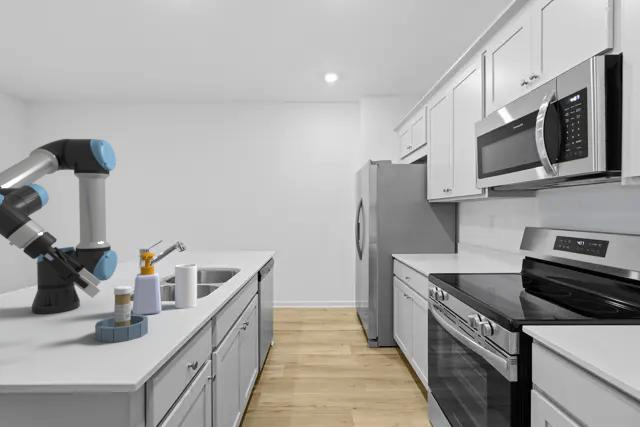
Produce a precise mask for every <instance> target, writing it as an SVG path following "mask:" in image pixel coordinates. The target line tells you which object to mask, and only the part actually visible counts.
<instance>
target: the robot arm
mask: <svg viewBox="0 0 640 427" xmlns="http://www.w3.org/2000/svg"><path fill="white" fill-rule="evenodd" d="M116 157H117V156H116V153H115V151H114V149H113V147H112V145H111V144H110V143H109V142H108V141H107V140H104V139H96V138H87V139H86V138H61V139H57V140H54V141H50V142H48V143H45V144H43V145H41V146H39V147H37V148H35V149H34V150H32V151H30V153H29V154H28V157H26V158H24V159H22V160H21V161H19V162H17V163H15V164H14V165H12V166H10V167H8V168H6V169H5V170H3V171H1V172H0V235H1V236H2V237H4V238H5V239H6V240H7V241H9V243H8V244H9V246H15V247H17V248H18V249H19V250H20V249H23V250H22V251H23V253H25V254H26V255H27V256H28V257H30V258H31V259H32V260H35V259H36V260H37V261H36V266H37V267H36V270H37V271H36V274H37V275H36V276H37V290H36V293H35V297H34V299H33V301H32V304H31V313H33V314H44V315H45V314H55V313H56V314H57V313H62V312H63V313H64V312H68V311H72V310H75V309H78V308H79V307H80V306H81V301H80V298H79V295H78V293H77V290H76V287H78V289H80V290H82V291H83V292H84V293H85V294H87V295H88V296H89V297H91V298H92V299H93V298H95V296H96V295H98V293H99V292H101V289H100V288H99V287H97V286H99V284H100V283H101V282H102V281H107V280H109V279H111V277H112V276H113V275H114V273H115V272H116V268H117V264H118V255H117V252H116V251H114V250H112V249H111V244H110V243H109V242H108V241H107V226H106V225H107V220H106V219H107V218H106V217H107V216H106V212H107V211H106V210H107V209H106V179H107V178H108V177H110V171H113V170H114V169H115V168H116V164H117V158H116ZM69 170H70V171H73V175H74V177H75V176H76V178H77V179H78V193H79V194H78V199H79V200H78V201H79V203H78V204H79V206H78V207H79V211H78V212H79V243H77V245H75V247H74V246H67V247H66V246H65V247H61V248H58V247H57V246H54V247H53V245H54V244H55V243H56V242H57V238H56V237H55V236H54V235H53V234H52V233H50V232H48V231H44V230H45V228H44V227H43V226H41V225H40V224H39V223H38V222H36V221H35V220H34V219H33V218H31V217H30V216H31V215H32V214H34V213H36V212H37V211H39V210H41V209H42V208H43V207H44V206H46V205H47V204H48V202H49V199H50V198H49V197H50V196H49V192H48V191H47V190H46V188H44V187H43V186H41V184H37V183H35V182H36V181H38V180H39V179H41V178H43V177H44V176H45V175H52V174H54V173H56V172H57V171H58V172H59V171H69ZM75 286H76V287H75Z"/></svg>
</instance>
